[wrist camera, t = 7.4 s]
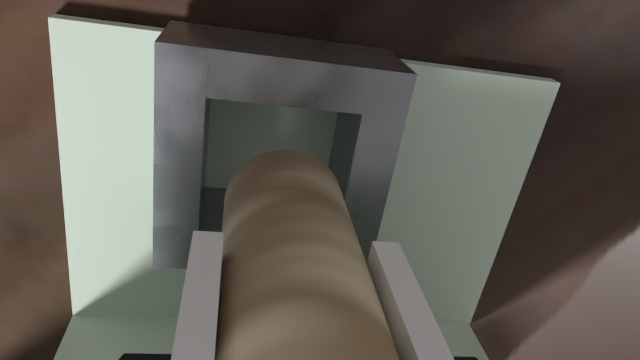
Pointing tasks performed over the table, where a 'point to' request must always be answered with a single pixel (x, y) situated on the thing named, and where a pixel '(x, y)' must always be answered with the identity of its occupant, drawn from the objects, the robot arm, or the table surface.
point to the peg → (294, 268)
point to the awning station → (260, 137)
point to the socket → (273, 89)
